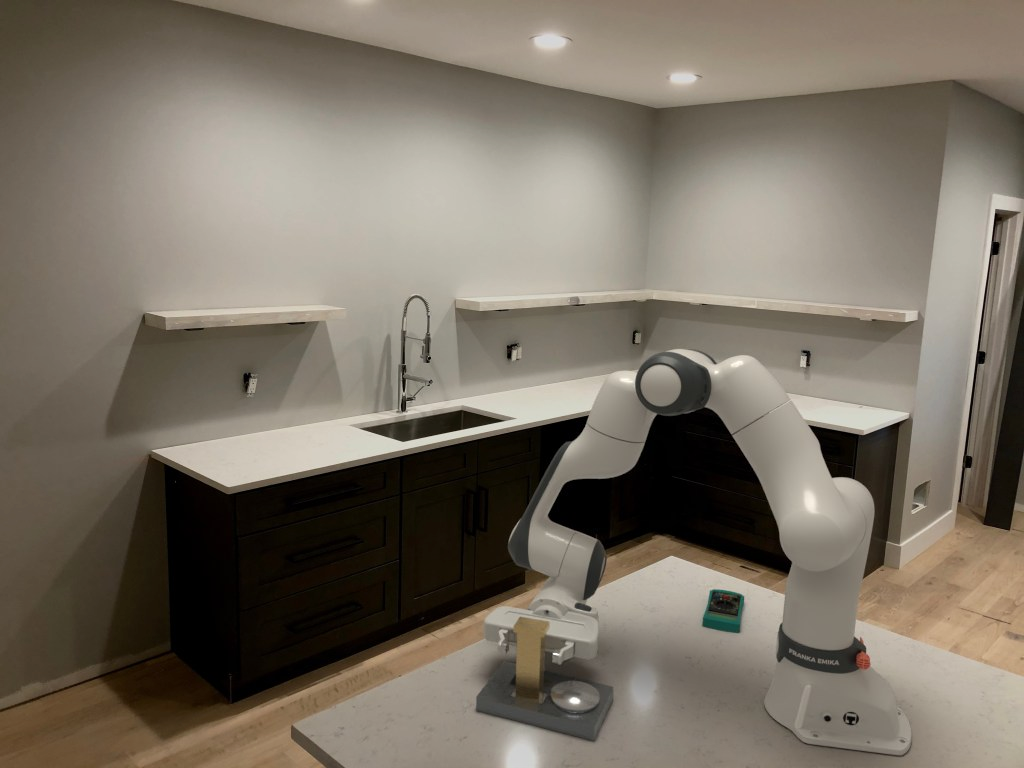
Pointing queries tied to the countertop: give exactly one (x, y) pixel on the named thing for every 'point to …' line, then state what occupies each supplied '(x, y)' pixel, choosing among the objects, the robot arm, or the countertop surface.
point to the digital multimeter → (723, 610)
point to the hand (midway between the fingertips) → (528, 654)
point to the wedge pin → (530, 658)
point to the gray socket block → (549, 702)
